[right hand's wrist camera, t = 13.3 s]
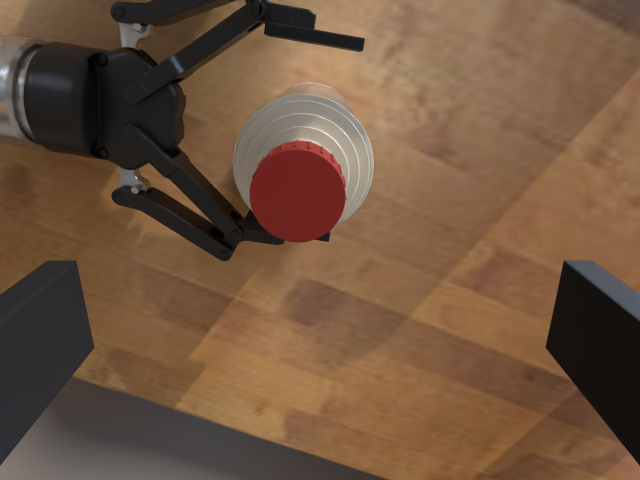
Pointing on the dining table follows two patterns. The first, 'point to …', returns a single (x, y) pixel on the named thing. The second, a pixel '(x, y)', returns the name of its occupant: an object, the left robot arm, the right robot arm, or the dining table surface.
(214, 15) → the dining table surface
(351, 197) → the bottle
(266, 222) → the cap
